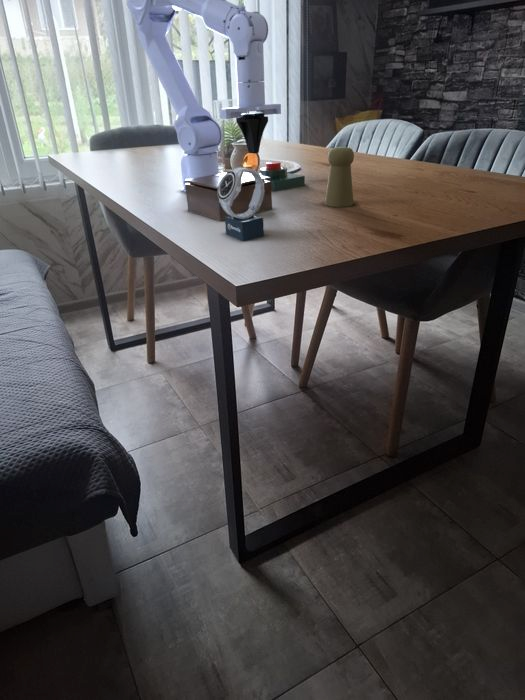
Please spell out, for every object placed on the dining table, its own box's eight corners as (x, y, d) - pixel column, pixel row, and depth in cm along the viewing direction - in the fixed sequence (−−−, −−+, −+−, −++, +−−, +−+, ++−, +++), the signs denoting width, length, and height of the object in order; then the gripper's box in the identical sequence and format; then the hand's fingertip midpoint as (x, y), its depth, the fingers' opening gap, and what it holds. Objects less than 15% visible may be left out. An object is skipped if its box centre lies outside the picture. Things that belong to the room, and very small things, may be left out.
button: (263, 170, 120) (263, 162, 119) (274, 168, 122) (274, 160, 121) (272, 171, 118) (272, 164, 117) (283, 169, 120) (283, 162, 119)
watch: (216, 236, 84) (210, 169, 79) (254, 227, 88) (251, 163, 82) (233, 243, 80) (228, 173, 75) (272, 234, 84) (270, 167, 78)
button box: (243, 185, 123) (242, 168, 121) (273, 179, 128) (273, 163, 126) (274, 191, 115) (273, 173, 113) (304, 185, 120) (304, 168, 118)
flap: (235, 172, 105) (235, 170, 105) (270, 179, 97) (270, 177, 97) (211, 176, 102) (211, 174, 101) (245, 183, 93) (245, 181, 93)
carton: (237, 200, 108) (235, 170, 105) (272, 209, 100) (271, 177, 97) (187, 211, 101) (184, 179, 98) (220, 221, 93) (217, 187, 90)
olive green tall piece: (352, 207, 98) (356, 149, 93) (323, 206, 100) (324, 149, 94) (354, 200, 104) (357, 145, 98) (325, 200, 105) (327, 145, 99)
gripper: (232, 83, 93) (237, 158, 100) (289, 80, 100) (290, 150, 107) (212, 84, 98) (218, 155, 104) (268, 81, 105) (270, 148, 112)
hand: (253, 152), depth 106 cm, fingers closed
